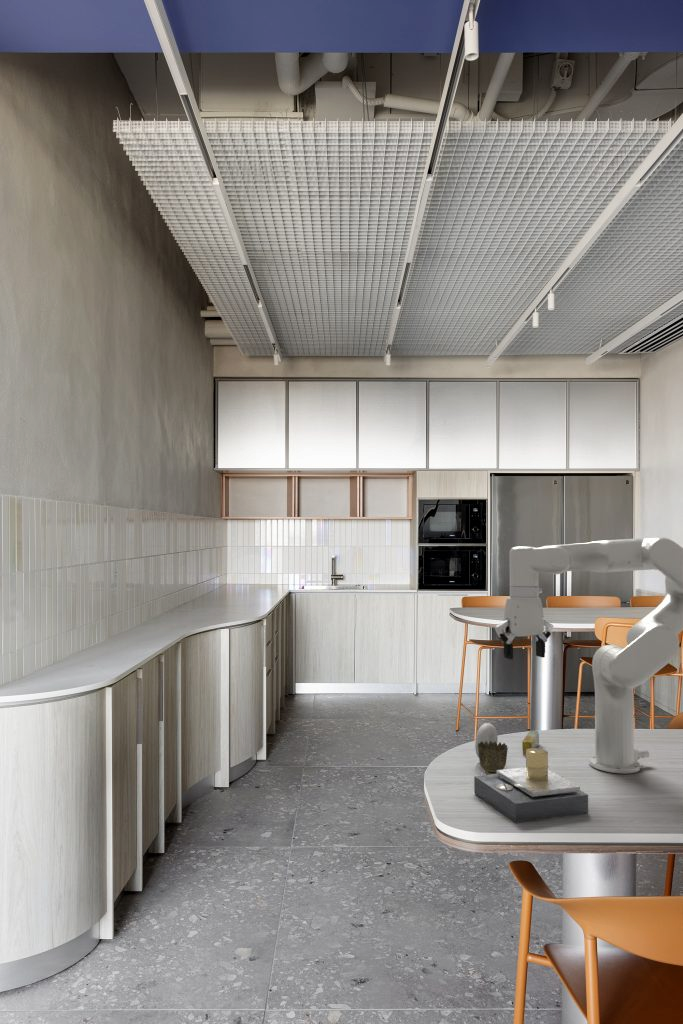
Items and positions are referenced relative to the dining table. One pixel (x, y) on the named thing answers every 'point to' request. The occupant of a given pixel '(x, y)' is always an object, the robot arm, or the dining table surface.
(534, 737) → the medication box
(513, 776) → the scale pan
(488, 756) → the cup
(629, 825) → the dining table surface
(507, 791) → the scale
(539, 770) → the brass weight
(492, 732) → the grey rounded slab
